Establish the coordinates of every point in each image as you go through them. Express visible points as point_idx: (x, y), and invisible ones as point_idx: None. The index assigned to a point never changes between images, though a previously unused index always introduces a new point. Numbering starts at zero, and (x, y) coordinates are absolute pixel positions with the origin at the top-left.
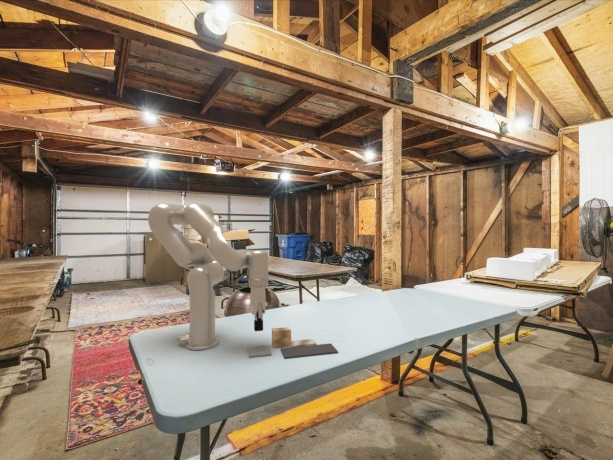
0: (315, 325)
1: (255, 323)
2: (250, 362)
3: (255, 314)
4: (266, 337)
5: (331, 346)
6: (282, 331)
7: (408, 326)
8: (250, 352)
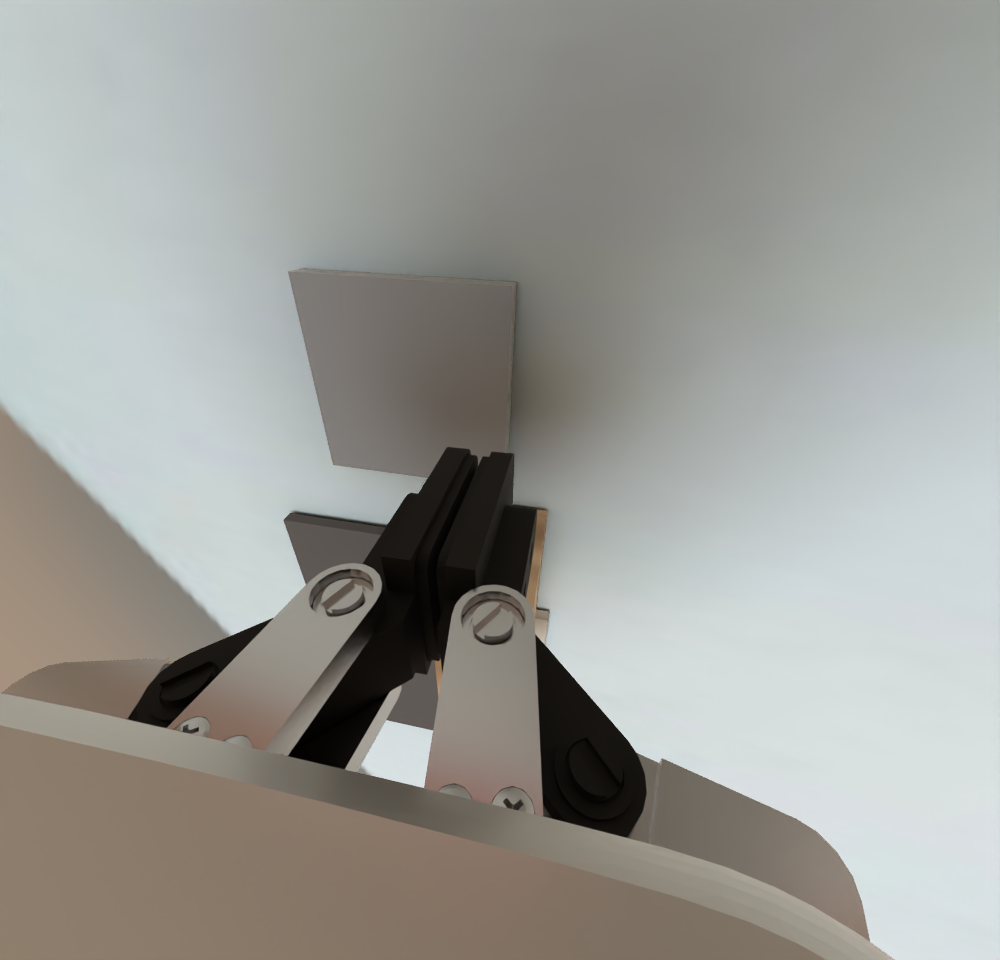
0: (781, 800)
1: (404, 531)
2: (228, 272)
3: (176, 727)
4: (765, 519)
5: (408, 720)
6: (439, 663)
7: None
8: (370, 299)
